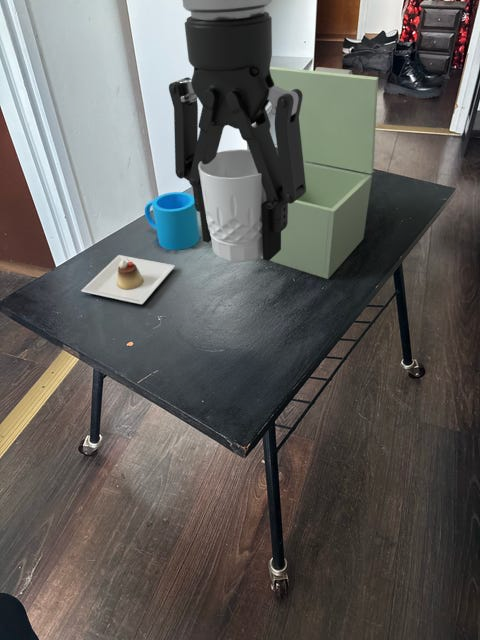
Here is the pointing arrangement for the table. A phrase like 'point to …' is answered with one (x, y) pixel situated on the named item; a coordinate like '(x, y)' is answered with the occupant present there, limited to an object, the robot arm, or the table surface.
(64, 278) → the table surface
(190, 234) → the mug
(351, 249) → the chest
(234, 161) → the white cup
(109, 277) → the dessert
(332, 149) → the chest lid
